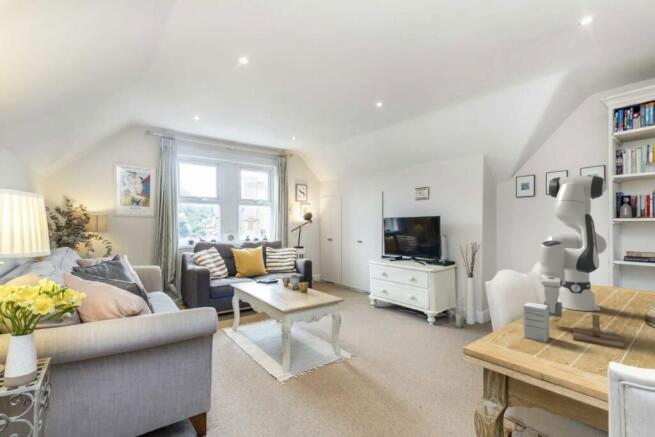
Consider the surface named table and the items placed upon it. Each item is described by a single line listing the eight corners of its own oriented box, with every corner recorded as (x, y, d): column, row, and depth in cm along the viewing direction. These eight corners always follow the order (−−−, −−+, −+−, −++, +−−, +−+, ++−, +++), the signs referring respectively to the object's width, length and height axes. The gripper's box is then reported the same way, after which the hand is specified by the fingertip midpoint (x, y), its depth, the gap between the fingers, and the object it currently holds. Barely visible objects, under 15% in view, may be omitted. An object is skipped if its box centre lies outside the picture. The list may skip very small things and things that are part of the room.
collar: (545, 311, 135) (545, 300, 135) (562, 313, 131) (562, 302, 131) (544, 314, 131) (543, 303, 131) (561, 317, 127) (561, 305, 127)
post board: (573, 329, 126) (572, 308, 126) (619, 337, 117) (618, 314, 117) (573, 339, 115) (572, 316, 115) (624, 349, 106) (623, 323, 106)
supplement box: (528, 332, 124) (527, 301, 124) (550, 337, 118) (549, 304, 119) (523, 337, 118) (522, 305, 119) (546, 342, 113) (545, 308, 113)
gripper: (545, 274, 141) (546, 303, 141) (541, 281, 125) (541, 314, 125) (562, 275, 137) (563, 305, 137) (560, 283, 121) (560, 317, 121)
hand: (553, 310), depth 131 cm, fingers closed on collar, 6 cm apart
